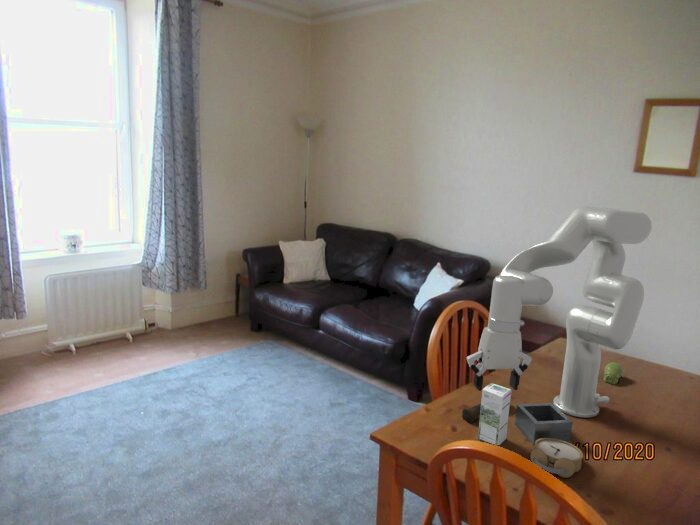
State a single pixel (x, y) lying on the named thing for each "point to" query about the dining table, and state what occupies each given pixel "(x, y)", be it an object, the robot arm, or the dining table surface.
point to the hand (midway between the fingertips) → (495, 388)
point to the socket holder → (543, 422)
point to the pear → (612, 372)
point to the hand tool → (471, 413)
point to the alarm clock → (557, 456)
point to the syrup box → (494, 414)
